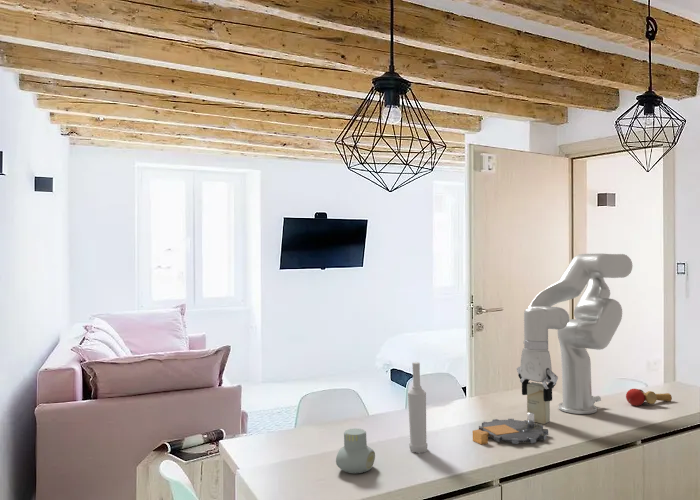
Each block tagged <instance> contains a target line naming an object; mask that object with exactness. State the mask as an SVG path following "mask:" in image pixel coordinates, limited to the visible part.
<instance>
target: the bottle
mask: <svg viewBox="0 0 700 500" xmlns="http://www.w3.org/2000/svg"><path fill="white" fill-rule="evenodd" d="M420 365H421V363H420V362H419V361H418V362H417V361H415V362H414V361H413V362H412V386H411V389H410V390H408V392H407V401H408V403H407V404H408V422H409V441H410V442H409V444H408V445H409V451H410V452H412V453H414V452H416V454H422V453H423V454H424V453H426V452H427V450H428V443H427V392H426V391H425V389H423V388H422V386H421V377H420V375H421V373H420V372H421V371H420V370H421V366H420Z"/></svg>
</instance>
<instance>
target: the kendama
mask: <svg viewBox="0 0 700 500" xmlns="http://www.w3.org/2000/svg"><path fill="white" fill-rule="evenodd" d="M672 397H673V396H672V394H670V393H669V392H668V393H667V392H666V393H655V392H654V391H651V390H647V392H644V391H643V389H639V388H630V389H629V390H628V391H627V392H626V394H625V399H626V401H627V402H628V404H630V406H633V407H639V406H642V405H643V404H644V403H647V404H650V405H653V404H655V403H656V402H657V401H661V402H669V403H671V401H672V400H673V398H672Z"/></svg>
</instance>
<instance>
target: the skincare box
mask: <svg viewBox="0 0 700 500" xmlns="http://www.w3.org/2000/svg"><path fill="white" fill-rule="evenodd" d="M547 385H548V383H547ZM543 389H545V387H544V385H543V383H542V382H535V381H532V382H531V381H530V383H529V384H527V395H526V405H527V406H526V413H528V412H533V413H534V423H536V424H541V425H545V424H547V423H549V422H551V419H550V418H551V417H550V416H551V407H550V405H551V404H550V403H551V401H546V402H545V401H544V398H543ZM526 420H527V421H528V417H527V419H526Z"/></svg>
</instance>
